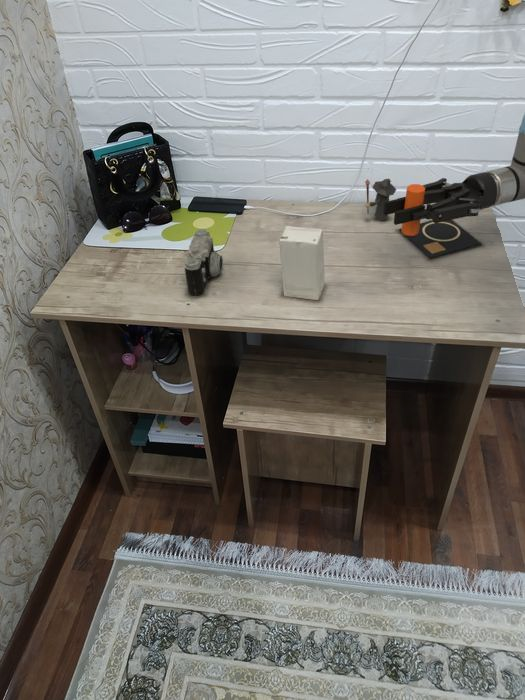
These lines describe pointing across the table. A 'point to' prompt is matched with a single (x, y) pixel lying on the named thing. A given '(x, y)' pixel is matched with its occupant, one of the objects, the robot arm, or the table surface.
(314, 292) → the cosmetic box
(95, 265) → the table surface
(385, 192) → the wizard figurine
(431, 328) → the table surface
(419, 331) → the table surface
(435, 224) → the black square board
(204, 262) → the camera
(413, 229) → the cylinder
